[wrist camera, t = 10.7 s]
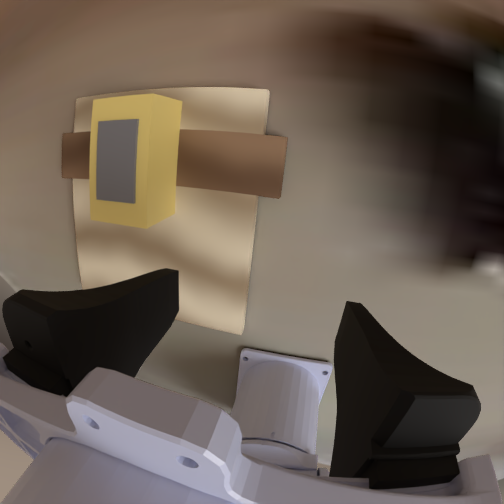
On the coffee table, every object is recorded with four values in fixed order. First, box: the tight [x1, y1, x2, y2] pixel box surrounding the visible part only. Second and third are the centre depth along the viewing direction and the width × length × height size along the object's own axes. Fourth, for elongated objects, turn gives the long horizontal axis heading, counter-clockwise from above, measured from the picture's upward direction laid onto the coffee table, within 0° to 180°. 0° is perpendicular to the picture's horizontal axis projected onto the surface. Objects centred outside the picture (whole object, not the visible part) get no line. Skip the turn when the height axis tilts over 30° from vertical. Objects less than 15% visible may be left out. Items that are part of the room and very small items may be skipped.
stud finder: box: [89, 94, 182, 229], centre depth 18 cm, size 8×5×4 cm, turn 174°
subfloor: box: [62, 87, 288, 335], centre depth 22 cm, size 18×19×1 cm
